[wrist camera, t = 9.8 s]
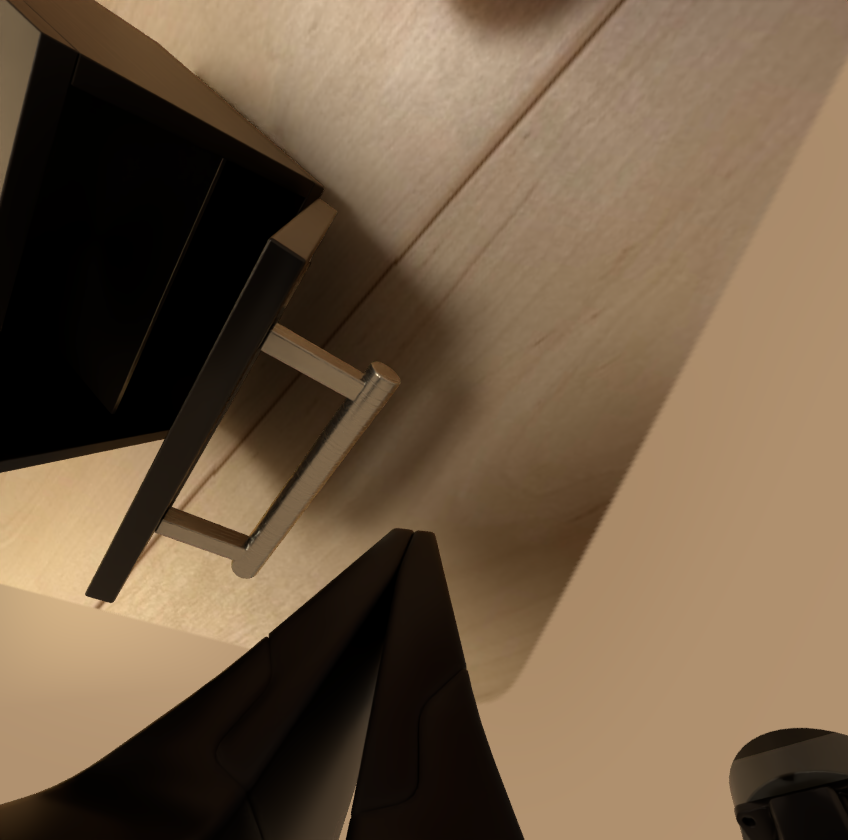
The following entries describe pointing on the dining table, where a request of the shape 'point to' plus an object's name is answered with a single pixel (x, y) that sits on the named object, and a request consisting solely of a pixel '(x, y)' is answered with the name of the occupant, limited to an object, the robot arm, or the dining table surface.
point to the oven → (117, 228)
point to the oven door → (213, 394)
